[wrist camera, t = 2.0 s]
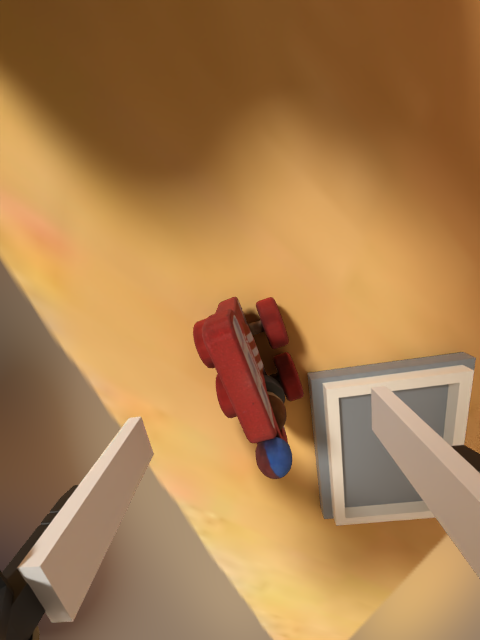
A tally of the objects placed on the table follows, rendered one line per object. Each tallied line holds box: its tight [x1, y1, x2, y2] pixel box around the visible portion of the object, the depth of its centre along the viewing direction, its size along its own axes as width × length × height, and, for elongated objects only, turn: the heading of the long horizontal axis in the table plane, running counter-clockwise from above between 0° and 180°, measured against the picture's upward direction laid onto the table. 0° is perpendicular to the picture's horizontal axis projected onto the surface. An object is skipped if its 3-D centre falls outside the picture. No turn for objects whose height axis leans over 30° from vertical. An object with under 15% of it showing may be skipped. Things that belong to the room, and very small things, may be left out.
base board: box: [308, 352, 476, 526], centre depth 22 cm, size 18×14×2 cm
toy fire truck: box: [193, 297, 304, 479], centre depth 16 cm, size 7×12×10 cm, turn 19°
